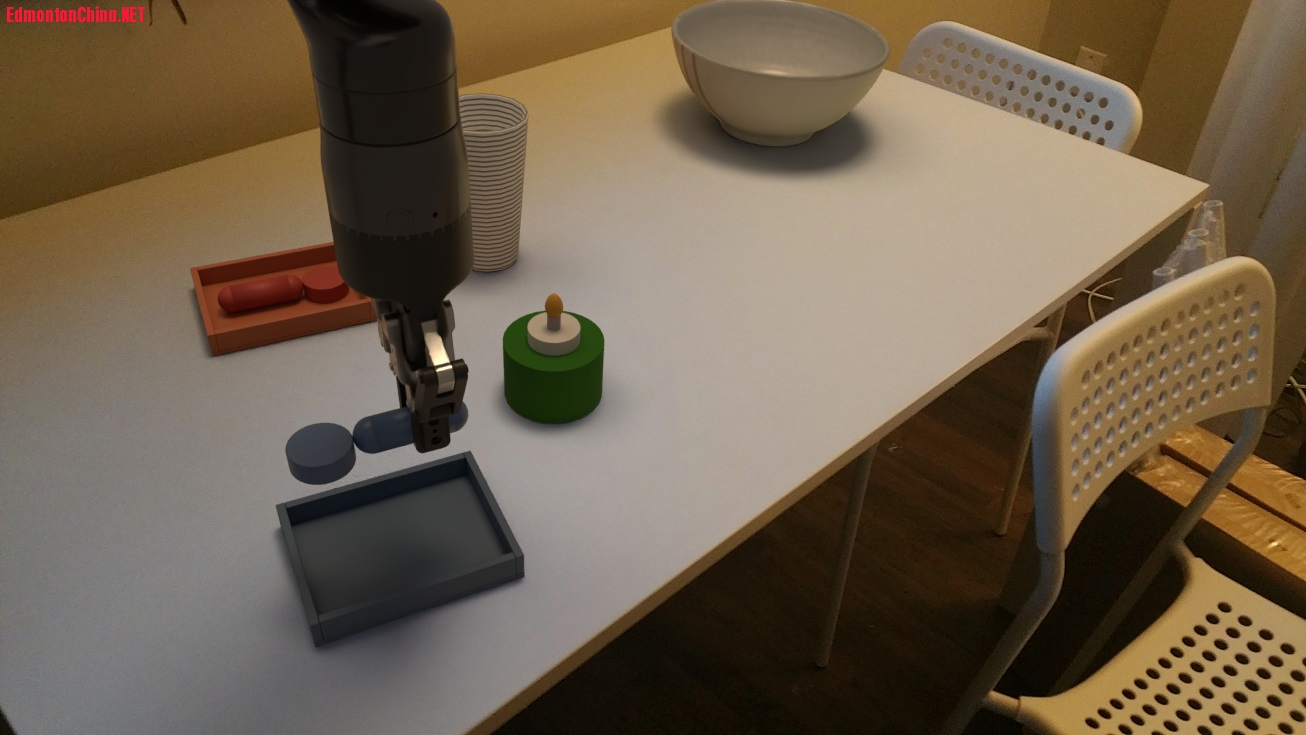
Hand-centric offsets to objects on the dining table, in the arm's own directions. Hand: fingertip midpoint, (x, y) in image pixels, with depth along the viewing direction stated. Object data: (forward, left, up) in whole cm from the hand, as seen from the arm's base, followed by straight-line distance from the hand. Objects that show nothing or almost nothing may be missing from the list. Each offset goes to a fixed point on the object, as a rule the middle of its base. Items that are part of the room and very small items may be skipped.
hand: (425, 431), depth 64 cm
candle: (+14, +12, -11) cm, 21 cm away
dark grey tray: (-3, 0, -10) cm, 11 cm away
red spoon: (-4, +33, -10) cm, 35 cm away
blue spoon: (-3, 0, 0) cm, 3 cm away
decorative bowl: (+60, +51, -11) cm, 79 cm away
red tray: (-4, +33, -10) cm, 35 cm away
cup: (+16, +34, -11) cm, 39 cm away
